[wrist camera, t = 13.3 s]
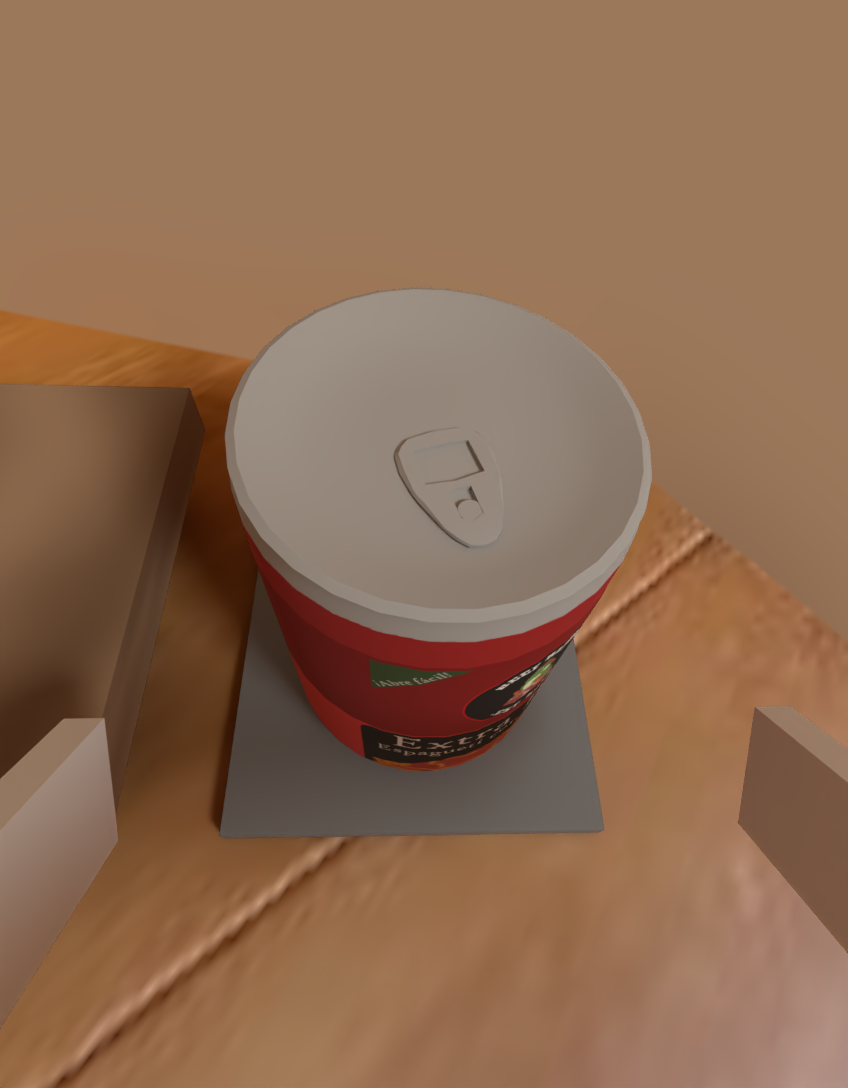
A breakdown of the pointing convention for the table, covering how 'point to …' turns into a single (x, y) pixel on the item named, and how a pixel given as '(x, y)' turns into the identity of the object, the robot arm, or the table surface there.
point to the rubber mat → (393, 794)
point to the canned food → (432, 510)
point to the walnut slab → (87, 553)
